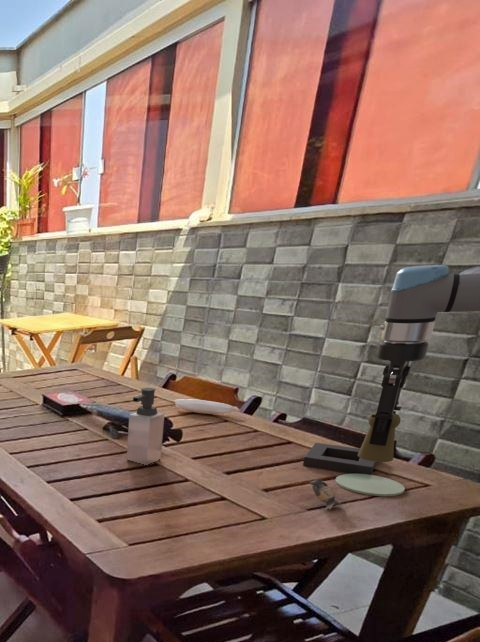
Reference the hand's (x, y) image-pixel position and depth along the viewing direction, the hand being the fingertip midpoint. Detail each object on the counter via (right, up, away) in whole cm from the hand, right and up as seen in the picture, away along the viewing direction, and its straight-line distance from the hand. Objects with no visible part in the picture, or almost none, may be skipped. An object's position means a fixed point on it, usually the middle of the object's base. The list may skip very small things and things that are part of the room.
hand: (379, 440), depth 115 cm
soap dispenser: (-39, -6, +32) cm, 51 cm away
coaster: (+1, -11, +4) cm, 12 cm away
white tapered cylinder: (+23, +31, +105) cm, 111 cm away
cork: (+1, -4, +2) cm, 4 cm away
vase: (-15, -15, -2) cm, 22 cm away
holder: (+7, -6, +17) cm, 19 cm away
